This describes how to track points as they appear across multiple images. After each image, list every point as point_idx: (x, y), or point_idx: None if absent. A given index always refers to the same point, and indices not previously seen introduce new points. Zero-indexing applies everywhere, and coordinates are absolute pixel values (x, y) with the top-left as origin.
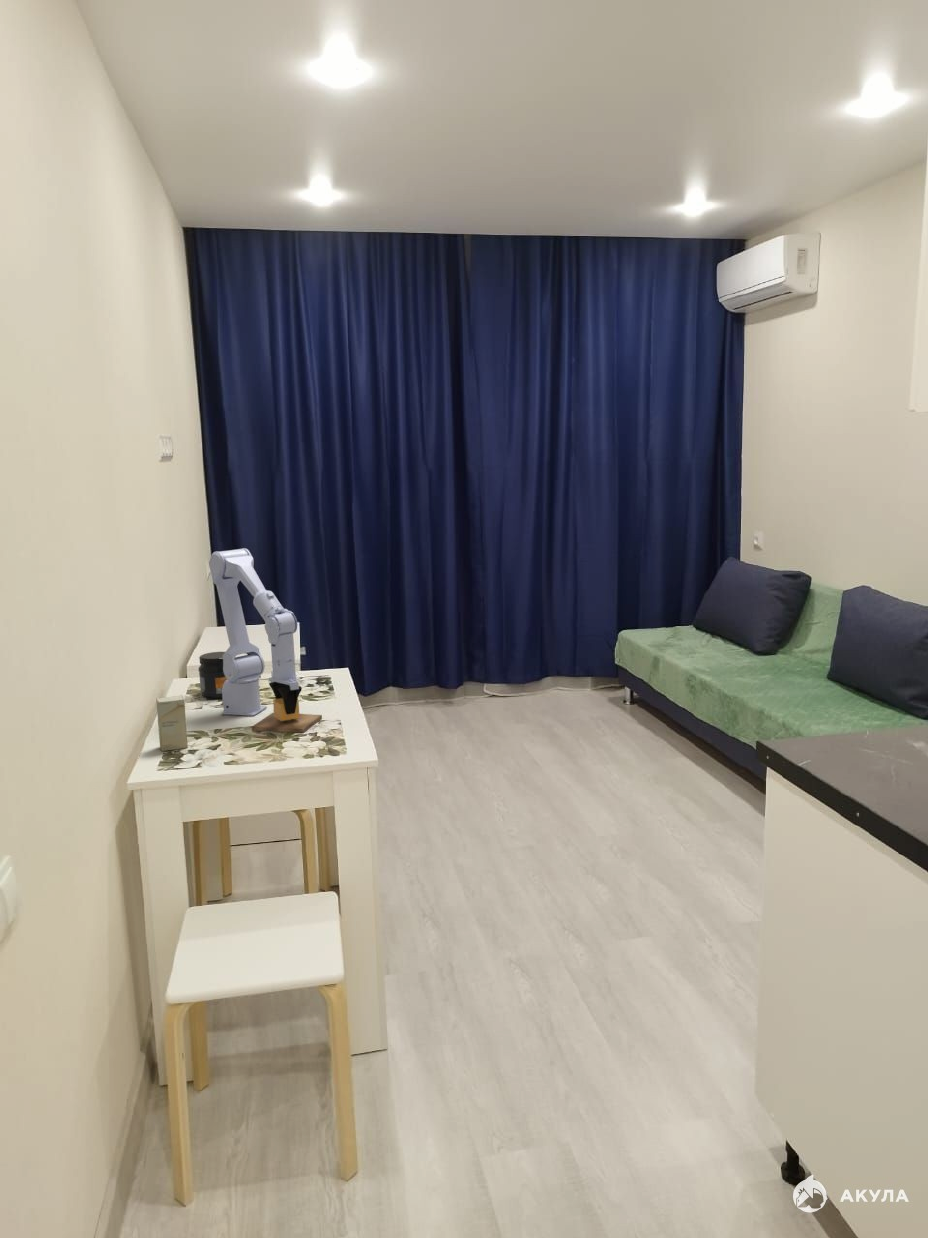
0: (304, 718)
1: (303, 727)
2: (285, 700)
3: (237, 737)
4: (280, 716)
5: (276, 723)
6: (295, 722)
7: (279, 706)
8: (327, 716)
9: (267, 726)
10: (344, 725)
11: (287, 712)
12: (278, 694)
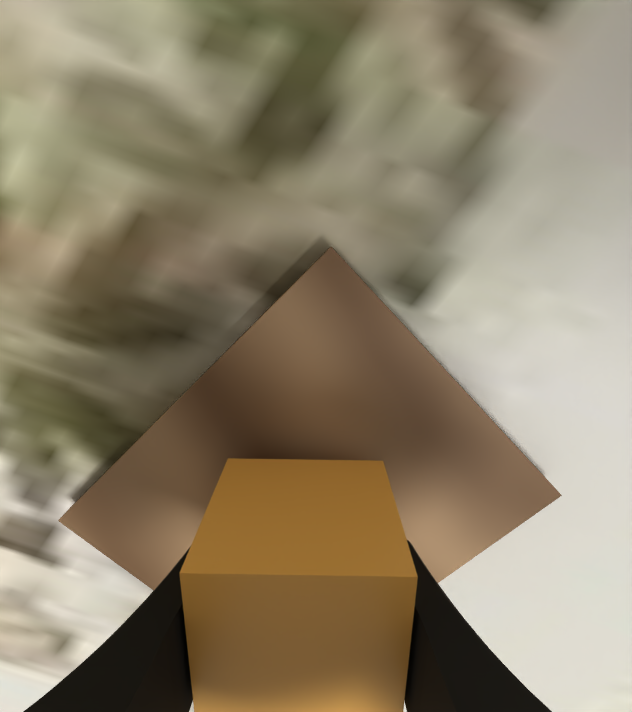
0: None
1: (91, 533)
2: (85, 665)
3: (220, 70)
4: (223, 481)
5: (286, 428)
6: None
7: (207, 548)
8: None
9: (255, 350)
10: None
11: (187, 551)
12: (434, 689)
